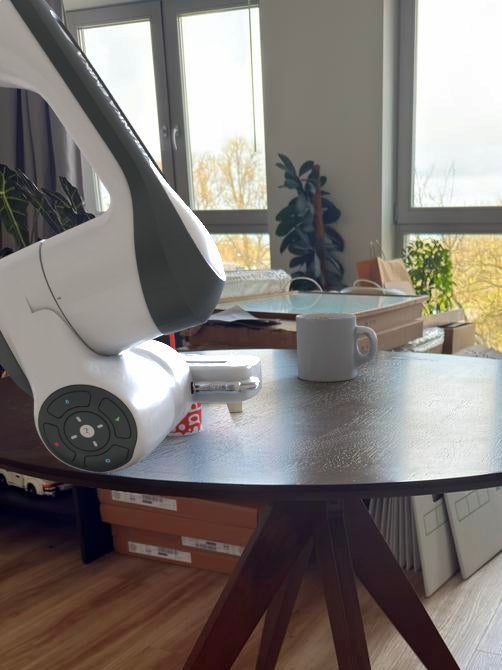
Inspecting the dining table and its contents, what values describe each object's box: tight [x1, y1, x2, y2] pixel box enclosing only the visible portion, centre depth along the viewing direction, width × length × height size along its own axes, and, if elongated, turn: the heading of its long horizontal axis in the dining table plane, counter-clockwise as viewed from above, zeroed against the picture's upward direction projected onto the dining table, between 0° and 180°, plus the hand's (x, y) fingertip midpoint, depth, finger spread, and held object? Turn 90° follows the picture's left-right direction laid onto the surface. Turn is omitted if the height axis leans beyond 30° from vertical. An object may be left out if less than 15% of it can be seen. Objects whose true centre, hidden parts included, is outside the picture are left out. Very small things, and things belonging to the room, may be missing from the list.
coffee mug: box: [295, 312, 379, 383], centre depth 121 cm, size 13×10×10 cm
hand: (176, 365), depth 80 cm, fingers closed on beverage cup, 6 cm apart
